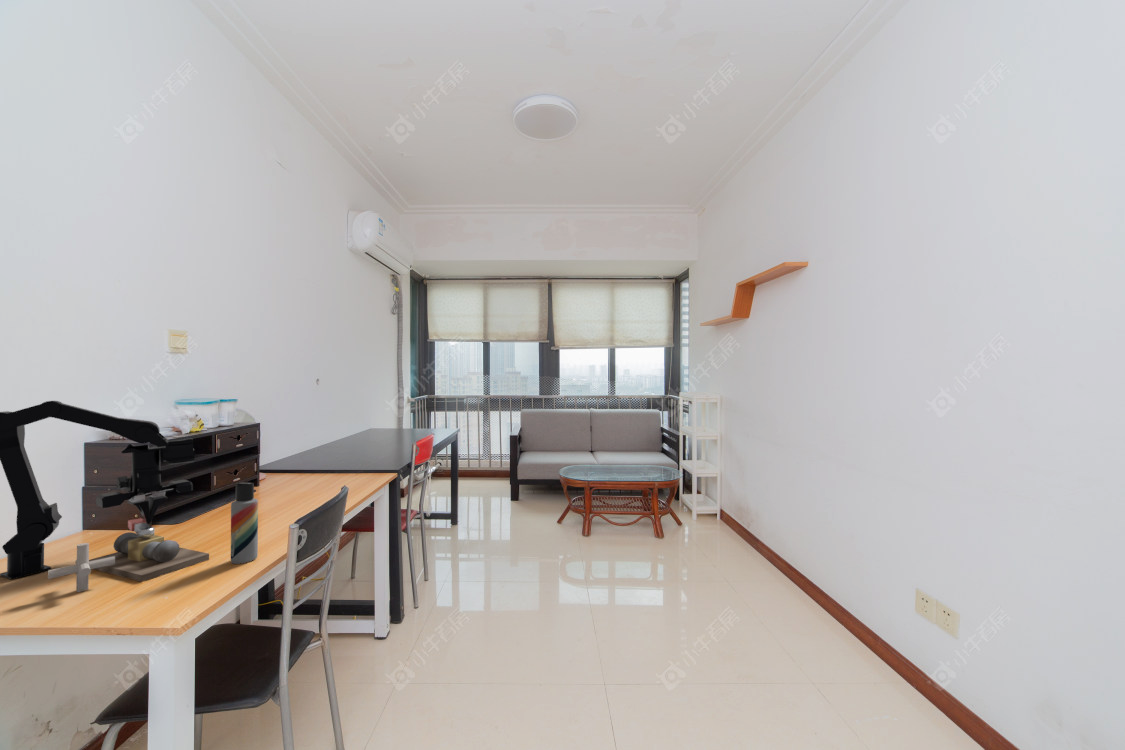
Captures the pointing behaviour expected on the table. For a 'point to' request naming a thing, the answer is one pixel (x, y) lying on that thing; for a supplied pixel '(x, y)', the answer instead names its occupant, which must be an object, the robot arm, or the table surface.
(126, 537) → the valve mount
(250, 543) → the lotion bottle
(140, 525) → the lever
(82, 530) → the table surface
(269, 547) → the table surface
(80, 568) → the pipe connector
